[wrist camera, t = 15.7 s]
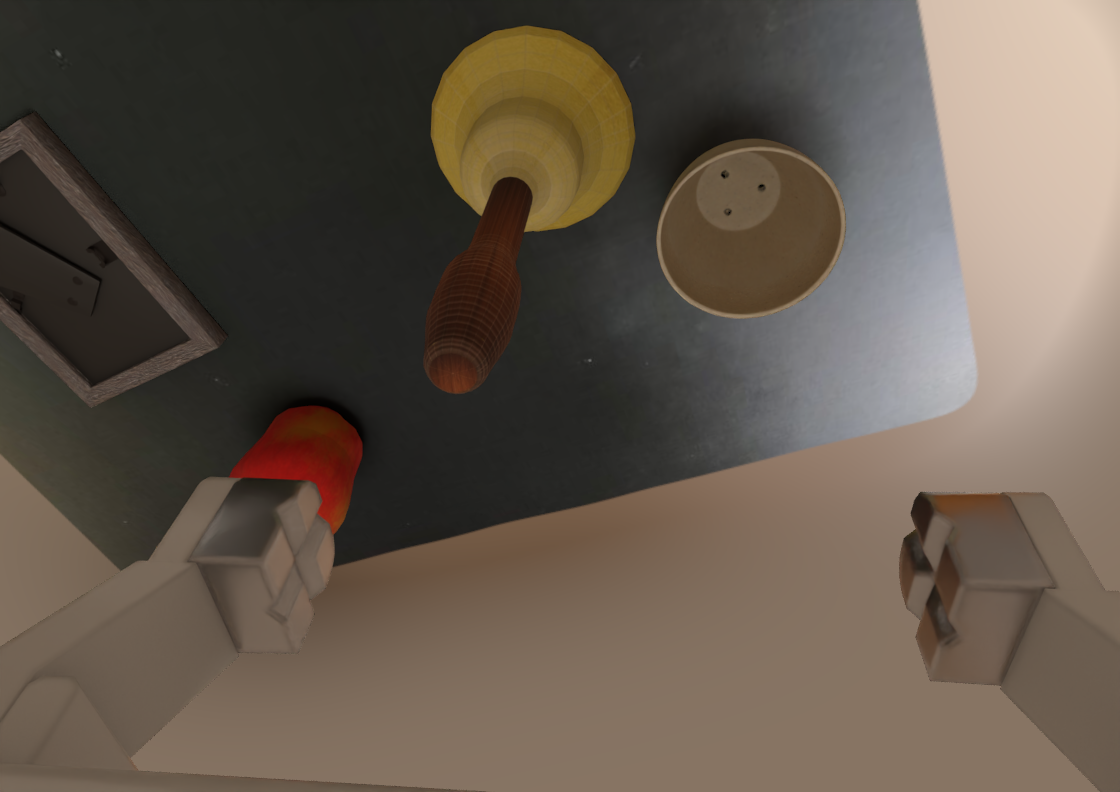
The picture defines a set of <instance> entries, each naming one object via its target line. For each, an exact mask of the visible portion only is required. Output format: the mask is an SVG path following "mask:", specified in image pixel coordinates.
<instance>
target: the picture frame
mask: <svg viewBox="0 0 1120 792" xmlns="http://www.w3.org/2000/svg"><path fill="white" fill-rule="evenodd" d="M0 320H1V321H2V322H3V323H4V324H5V325H6V326H7V327H8V328H9V329H11V330H12V331H13V332H14V333H15V334H16V335H17V336H18V337H19V338H20V339H21V340H22V341H23V342H24V343H25V344H26V345H27V346H28V347H29V348H30V349H31V350H32V351H33V352H34V353H35V354H36V355H37V356H38V357H39V358H40V359H41V360H42V361H43V362H44V363H45V364H46V365H47V366H48V367H49V368H50V369H51V370H52V371H54V372H55V373H56V374H57V375H58V376H59V377H60V378H61V379H62V380H63V381H64V382H65V383H66V384H67V385H68V386H69V387H70V388H71V389H72V390H73V391H74V392H75V393H76V394H77V395H78V396H79V397H80V398H81V399H82V400H83V401H84V402H85V403H86V404H87V405H88V406H89V407H90V408H91V407H93V406H95V405H97V404H100V403H102V402H104V401H106V400H108V399H110V398H112V397H114V396H117V395H119V394H121V393H123V392H125V391H127V390H129V389H131V388H134V387H136V386H138V385H140V384H142V383H144V382H146V381H148V380H151V379H153V378H155V377H157V376H159V375H161V374H163V373H166V372H168V371H170V370H172V369H174V368H176V367H178V366H180V365H183V364H185V363H187V362H189V361H191V360H193V359H195V358H197V357H200V356H202V355H204V354H206V353H208V352H210V351H212V350H214V349H217V348H219V347H220V345H221V344H222V343H223V341H224V340H225V339H226V338H227V336H228V335H227V334H226V333H225V332H224V331H223V330H222V328H221V327H220V326H219V325H218V324H217V323H216V321H215V320H214V319H213V318H212V317H211V316H210V314H209V313H208V312H207V311H206V310H205V309H204V307H203V306H202V305H201V304H200V303H199V302H198V300H197V299H196V298H195V297H194V296H193V295H192V293H191V292H190V291H189V290H188V289H187V288H186V286H185V285H184V284H183V283H182V282H181V281H180V279H179V278H178V277H177V276H176V275H175V274H174V273H173V271H172V270H171V269H170V268H169V267H168V266H167V264H166V263H165V262H164V261H163V260H162V259H161V257H160V256H159V255H158V254H157V253H156V252H155V250H154V249H153V248H152V247H151V246H150V245H149V243H148V242H147V241H146V240H145V239H144V238H143V236H142V235H141V234H140V233H139V232H138V231H137V229H136V228H135V227H134V226H133V225H132V224H131V222H130V221H129V220H128V219H127V218H126V217H125V215H124V214H123V213H122V212H121V211H120V210H119V208H118V207H117V206H116V205H115V204H114V203H113V201H112V200H111V199H110V198H109V197H108V196H107V194H106V193H105V192H104V191H103V190H102V189H101V187H100V186H99V185H98V184H97V183H96V182H95V180H94V179H93V178H92V177H91V176H90V175H89V173H88V172H87V171H86V170H85V169H84V168H83V166H82V165H81V164H80V163H79V162H78V161H77V159H76V158H75V157H74V156H73V155H72V154H71V152H70V151H69V150H68V149H67V148H66V147H65V145H64V144H63V143H62V142H61V141H60V140H59V139H58V137H57V136H56V135H55V134H54V133H53V132H52V130H51V129H50V128H49V127H48V126H47V125H46V123H45V122H44V121H43V120H42V119H41V118H40V116H39V115H38V114H37V113H36V112H34V113H32V114H30V115H28V116H26V117H24V118H22V119H20V120H19V121H17V122H16V123H14V124H13V125H11V126H10V127H8V128H7V129H5V130H4V131H2V132H1V133H0Z"/></svg>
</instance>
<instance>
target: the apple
mask: <svg viewBox="0 0 1120 792" xmlns="http://www.w3.org/2000/svg"><path fill="white" fill-rule="evenodd" d="M361 459H362V441H361V439H360V437H359V435H358V433H357V431H356V429H355V428H354V427H353V426H352V425H350V424H349V423H348V422H347V421H346V420H344V419H343V418H342V416H341V415H340V414H339V413H337V412H335V411H333V410H331V409H329V408H328V407H322V406H316V405H315V406H303V407H296V408H290V409H288V410H286V411H284V412H283V413H281V414H279V415H277V416H276V418H275V419H274V420H273V422H272V423H271V425H270V426H269V428H268V429H267V431H266V432H265V434H264V435H263V436H262V438H261V439H260V440H259V441H258V442H257V443H256V444H255V445H254V446H253V447H252V448H251V449H250V450H249V451H248V452H247V453H246V454H245V455H244V456H243V458H242V459H241V460H240V461H239V462H238V463H237V465H236V466H235V467H234V468H233V469H232V472H231V474H230V476H229V478H243V477H246V478H269V479H292V480H309V481H312V482H314V483H316V484H317V487H318V490H319V493H320V495H321V498H322V503H321V505H320V507H319V510H318V512H317V514H319V515H320V516H321V517H322V518H323V519H325V520H326V521H327V522H328V523H329V524H330V527H331V530H332V534H334V533H336V532H337V530H338V529H339V527H340V526H341V524H342V523H343V521H344V519H345V516H346V513H347V510H348V507H349V504H350V498H351V493H352V487H353V481H354V477H355V475H356V472H357V469H358V467H359V464H360V461H361Z"/></svg>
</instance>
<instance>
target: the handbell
mask: <svg viewBox="0 0 1120 792" xmlns="http://www.w3.org/2000/svg"><path fill="white" fill-rule="evenodd" d="M431 138H432V142H433V145H434V149H435V153H436V156H437V160H438V163H439V167H440V168H441V170H442V171H443V173H444V175H445V176H446V178H447V179H448V181H449V183H450V184H451V186H452V187H453V189H454V191H455V192H456V193H457V194H458V195H459V196H460V197H461V198H462V199H463V200H464V201H466V202H467V203H468V204H469V205H470V206H471V207H472V208H473V209H474V210H475V211H476V212H477V213H478V214H479V215H481V219H480V222H479V224H478V227H477V229H476V232H475V234H474V237H473V240H472V242H471V245H470V246H469V248H468V250H466V251H464V252H463V253H461V254H460V255H458V256H456V257H455V258H454V259H453V260H452V261H451V262H450V263H449V265H448V266H447V267H446V269H445V271H444V274H443V276H442V278H441V280H440V282H439V285H438V287H437V289H436V291H435V294H434V297H433V300H432V302H431V305H430V307H429V309H428V312H427V316H426V330H425V351H424V368H425V371H426V374H427V376H428V377H429V379H430V380H431V381H432V383H433V384H434V385H435V386H437V387H438V388H439V389H441V390H443V391H445V392H448V393H453V394H461V393H466V392H469V391H472V390H474V389H476V388H478V387H479V386H480V385H481V384H482V383H483V382H484V381H485V379H486V377H487V376H488V374H489V373H490V371H491V369H492V368H493V366H494V365H495V363H496V362H497V361H498V359H499V358H500V357H501V355H502V353H503V352H504V350H505V348H506V346H507V344H508V343H509V341H510V338H511V336H512V332H513V327H514V324H515V321H516V318H517V313H518V309H519V304H520V297H521V282H520V278H519V274H518V272H517V269H516V266H515V263H516V260H517V256H518V252H519V249H520V245H521V242H522V238H523V234H524V232H527V231H543V230H551V229H558V228H565V227H568V226H570V225H572V224H574V223H576V222H579V221H581V220H583V219H585V218H587V217H589V216H591V215H593V214H594V213H595V212H596V211H597V210H598V209H600V208H601V207H602V206H603V205H604V204H605V203H606V202H607V201H608V200H609V199H610V198H611V197H612V196H614V195H615V193H616V191H617V189H618V187H619V186H620V184H621V182H622V180H623V178H624V177H625V175H626V173H627V171H628V169H629V167H630V162H631V157H632V152H633V146H634V141H635V130H634V122H633V114H632V107H631V103H630V100H629V98H628V96H627V94H626V92H625V90H624V88H623V86H622V84H621V81H620V79H619V77H618V75H617V73H616V72H615V71H614V70H613V69H612V68H611V67H610V66H609V65H608V64H607V62H606V61H605V60H604V59H603V58H602V57H601V56H600V55H599V54H598V53H597V52H596V51H595V50H594V49H593V48H592V47H590V46H588V45H587V44H585V43H583V42H581V41H579V40H577V39H575V38H573V37H572V36H570V35H568V34H566V33H564V32H562V31H558V30H552V29H545V28H539V27H533V26H522V27H516V28H511V29H505V30H499V31H494V32H492V33H490V34H488V35H487V36H485V37H483V38H482V39H480V40H478V41H476V42H475V43H473V44H471V45H469V46H468V47H466V48H464V50H463V51H462V52H461V53H460V54H459V56H458V57H457V58H456V59H455V60H454V62H453V63H452V64H451V65H450V66H449V68H448V69H447V70H446V71H445V72H444V73H443V76H442V79H441V81H440V84H439V87H438V89H437V92H436V95H435V97H434V100H433V103H432V120H431Z"/></svg>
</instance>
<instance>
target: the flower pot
mask: <svg viewBox="0 0 1120 792" xmlns="http://www.w3.org/2000/svg"><path fill="white" fill-rule="evenodd" d="M721 174H724V175H725V178H724V177H722V175H721ZM761 184H763V186H762V187H758V186H759V185H761ZM730 210H731V213H730V214H728V212H729V211H730ZM845 232H846V216H845V209H844V205H843V201H842V198H841V195H840V193H839V191H838V189H837V187H836V186H835V184H834V182H833V181H832V180H831V178H830V177H829V176H828V175H827V173H826V172H825V171H824V170H823V169H822V168H821V167H820V166H819V165H818V164H816V163H815V162H814V161H813V160H812V159H810V158H809V157H807V156H806V155H804V154H803V153H801V152H799V151H798V150H796V149H794V148H792V147H789V146H787V145H784V144H781V143H778V142H775V141H771V140H765V139H740V140H735V141H731V142H727V143H724V144H721V145H719V146H716V147H714V148H712V149H710V150H709V151H707V152H705V153H704V154H702V155H701V156H699V157H698V158H697V159H696V160H694V161H693V162H692V163H691V164H690V165H689V166H688V167H687V168H686V169H685V170H684V171H683V173H682V174H681V175H680V176H679V178H678V179H677V181H676V182H675V184H674V185H673V187H672V189H671V190H670V192H669V194H668V196H667V198H666V201H665V203H664V206H663V208H662V212H661V215H660V219H659V223H658V229H657V239H656V244H657V252H658V258H659V262H660V265H661V268H662V270H663V272H664V275H665V276H666V278H667V280H668V281H669V283H670V285H671V286H672V287H673V288H674V290H675V291H676V292H677V293H678V294H679V295H680V296H681V297H682V298H684V299H685V300H686V301H687V302H689V303H690V304H692V305H694V306H695V307H697V308H699V309H701V310H703V311H705V312H708V313H711V314H714V315H717V316H722V317H728V318H740V319H742V318H756V317H762V316H766V315H770V314H774V313H777V312H780V311H782V310H784V309H787V308H789V307H791V306H793V305H795V304H796V303H798V302H800V301H801V300H803V299H804V298H806V297H807V296H808V295H810V294H811V293H812V292H813V291H814V290H815V289H816V288H817V287H819V285H820V284H821V283H822V282H823V281H824V280H825V279H826V278H827V276H828V275H829V273H830V272H831V270H832V269H833V267H834V266H835V264H836V262H837V260H838V258H839V255H840V253H841V250H842V247H843V243H844V238H845Z"/></svg>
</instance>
